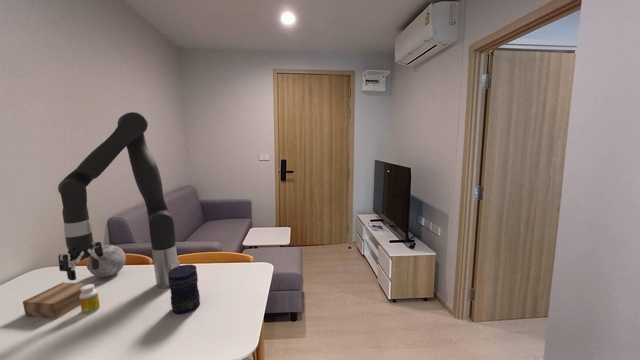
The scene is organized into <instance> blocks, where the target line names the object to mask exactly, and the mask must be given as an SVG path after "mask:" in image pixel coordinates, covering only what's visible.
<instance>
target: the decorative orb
mask: <svg viewBox="0 0 640 360" xmlns="http://www.w3.org/2000/svg"><path fill="white" fill-rule="evenodd" d="M102 250H103V256H101V257H99V259H98V261H99V268H98V269H97V270H93V269H92V264H91V260H92V259H90V258H89V257H88V258H87V262H86V269H87V270H88V271H89V272H90V274H92V275H93V276H95V277H99V278H108V277H111V276H114V275H116V274H118V272H120V271H121V270H122V269H123V267H124V266H125V264H126V261H127V260H126V258H127V256H126V253H125V251H124V250H123V249H122V248H121V247H119V246H117V245H114V244H107V245H106V244H105V245H103V246H102ZM93 252H94V253H95V251H93Z"/></svg>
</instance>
